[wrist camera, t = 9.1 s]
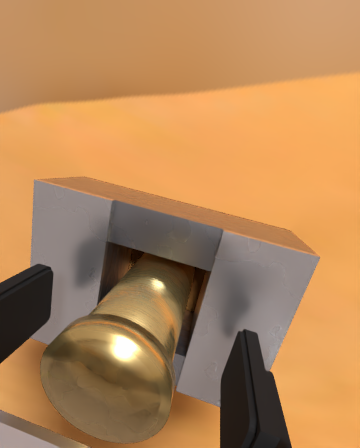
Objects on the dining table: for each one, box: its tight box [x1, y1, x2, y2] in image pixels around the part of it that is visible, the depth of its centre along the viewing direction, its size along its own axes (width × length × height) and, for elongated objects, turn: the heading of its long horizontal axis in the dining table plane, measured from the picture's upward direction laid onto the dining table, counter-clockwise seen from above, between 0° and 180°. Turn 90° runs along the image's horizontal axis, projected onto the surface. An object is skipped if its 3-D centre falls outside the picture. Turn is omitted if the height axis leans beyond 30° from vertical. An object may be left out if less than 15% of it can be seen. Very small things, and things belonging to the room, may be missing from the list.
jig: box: [30, 177, 320, 407], centre depth 14 cm, size 14×10×4 cm
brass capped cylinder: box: [40, 252, 194, 443], centre depth 12 cm, size 5×5×9 cm
